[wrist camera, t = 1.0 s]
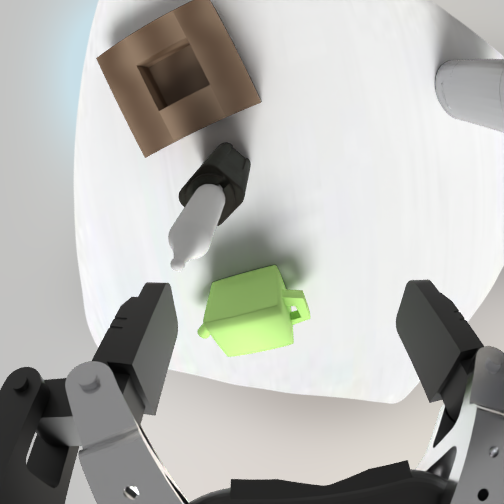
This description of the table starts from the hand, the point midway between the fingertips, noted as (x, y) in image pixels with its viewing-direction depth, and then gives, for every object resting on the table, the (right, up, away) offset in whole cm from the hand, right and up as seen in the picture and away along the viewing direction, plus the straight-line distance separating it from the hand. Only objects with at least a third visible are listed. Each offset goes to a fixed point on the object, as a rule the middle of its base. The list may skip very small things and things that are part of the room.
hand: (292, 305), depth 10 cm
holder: (-10, +24, +23) cm, 35 cm away
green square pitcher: (-2, -6, +40) cm, 40 cm away
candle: (-5, +13, +29) cm, 32 cm away
